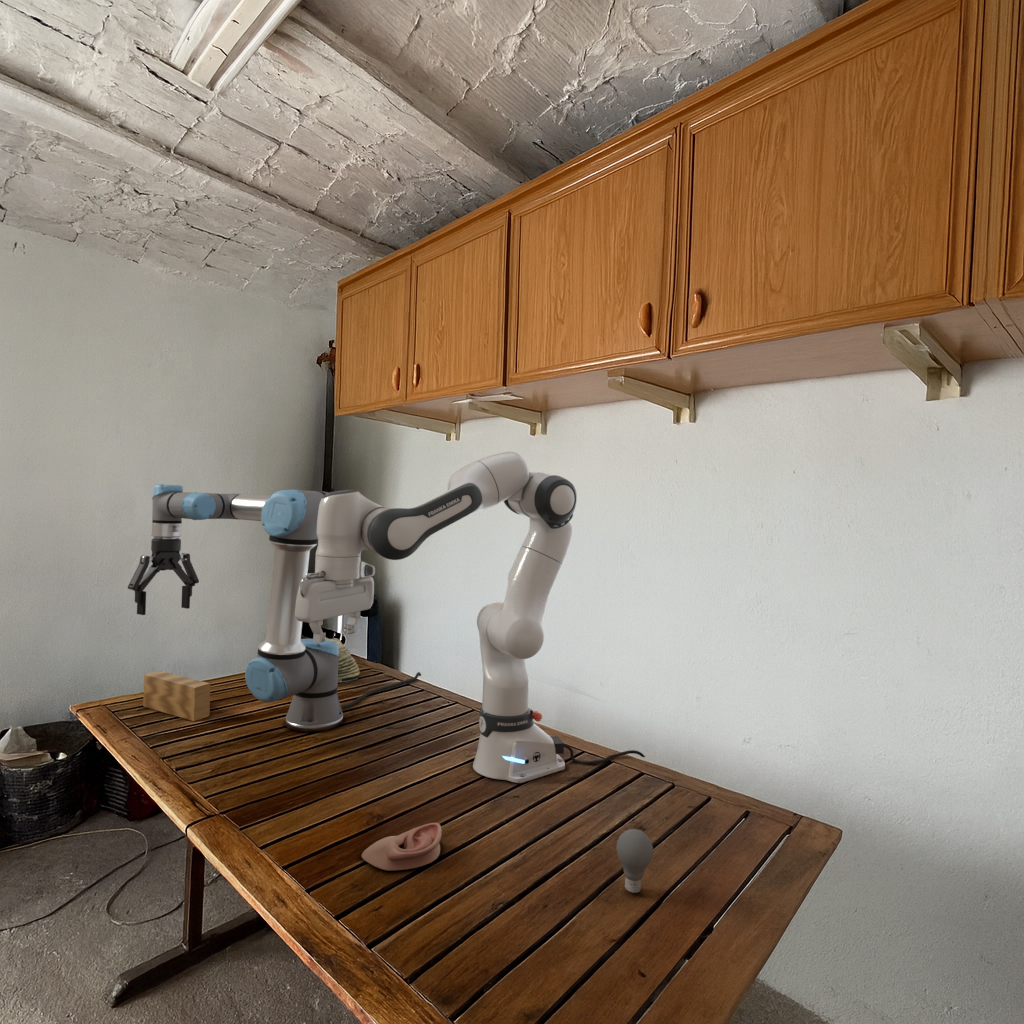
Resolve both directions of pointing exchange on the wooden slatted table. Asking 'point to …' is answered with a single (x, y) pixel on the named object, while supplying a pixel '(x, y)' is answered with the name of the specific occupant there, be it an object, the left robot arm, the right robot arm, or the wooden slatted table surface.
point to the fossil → (345, 663)
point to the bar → (177, 695)
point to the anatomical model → (406, 849)
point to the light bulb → (634, 857)
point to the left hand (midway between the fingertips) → (164, 611)
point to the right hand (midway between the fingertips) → (335, 637)
